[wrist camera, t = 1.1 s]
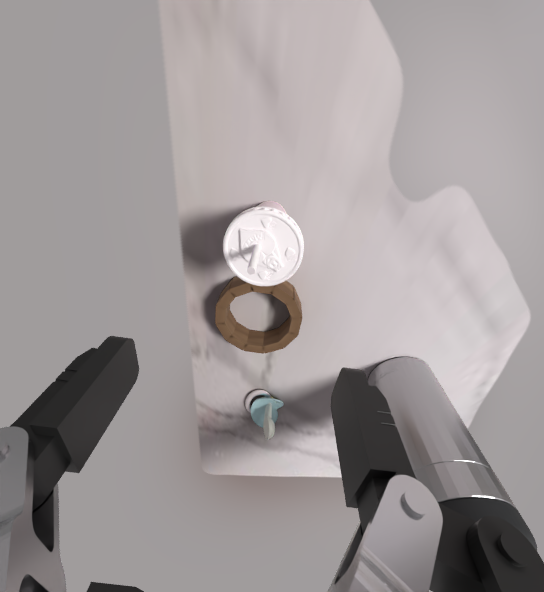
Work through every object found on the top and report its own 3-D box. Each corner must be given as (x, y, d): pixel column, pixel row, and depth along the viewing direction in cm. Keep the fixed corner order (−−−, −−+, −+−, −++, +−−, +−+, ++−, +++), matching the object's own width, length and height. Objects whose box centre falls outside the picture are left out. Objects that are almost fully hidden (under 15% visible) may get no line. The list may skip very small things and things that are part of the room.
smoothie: (271, 172, 26) (257, 202, 14) (312, 220, 29) (329, 280, 17) (228, 217, 29) (186, 273, 17) (269, 257, 31) (257, 332, 19)
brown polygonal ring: (316, 302, 34) (318, 316, 31) (267, 349, 39) (266, 364, 36) (250, 255, 31) (247, 265, 29) (206, 311, 36) (199, 325, 33)
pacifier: (242, 409, 47) (275, 417, 47) (234, 444, 41) (272, 453, 42) (250, 382, 43) (286, 391, 43) (244, 416, 37) (285, 426, 38)
